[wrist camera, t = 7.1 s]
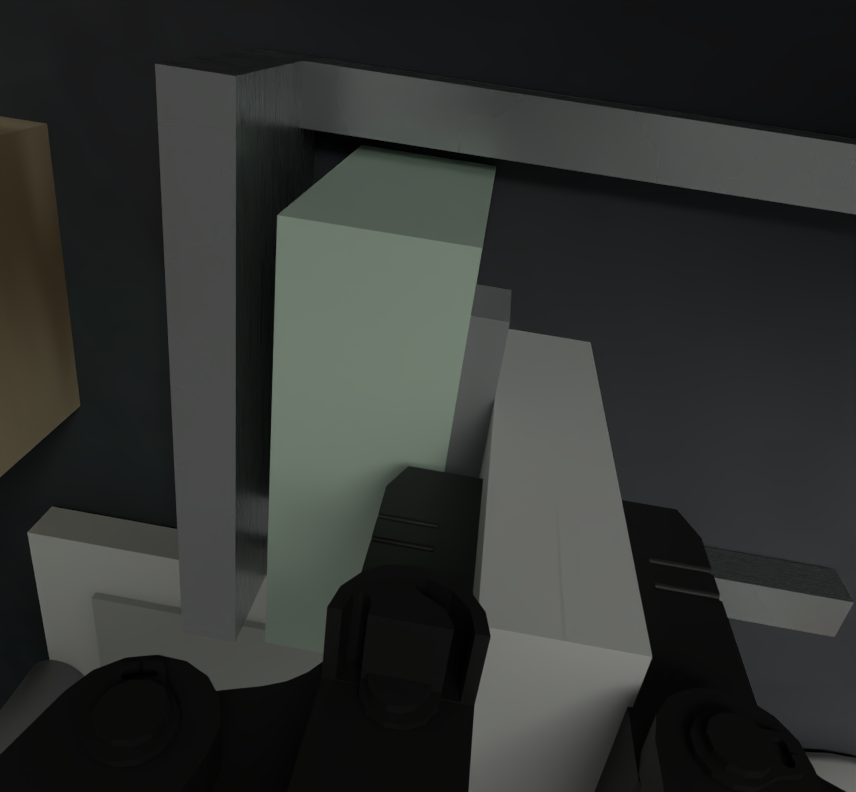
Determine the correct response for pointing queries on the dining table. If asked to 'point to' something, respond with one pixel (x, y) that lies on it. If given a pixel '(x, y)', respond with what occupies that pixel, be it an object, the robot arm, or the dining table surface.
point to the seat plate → (127, 614)
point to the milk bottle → (835, 769)
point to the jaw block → (31, 296)
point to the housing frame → (292, 176)
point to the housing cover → (372, 362)
